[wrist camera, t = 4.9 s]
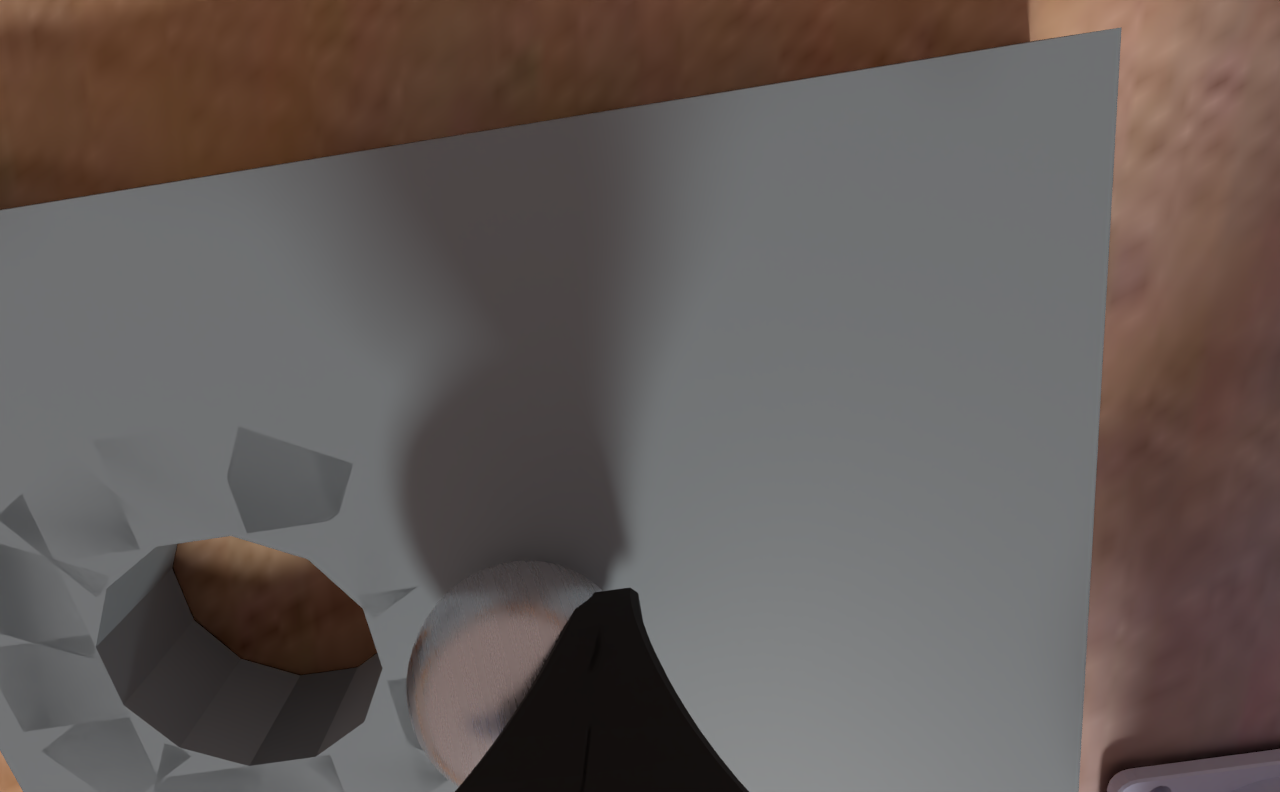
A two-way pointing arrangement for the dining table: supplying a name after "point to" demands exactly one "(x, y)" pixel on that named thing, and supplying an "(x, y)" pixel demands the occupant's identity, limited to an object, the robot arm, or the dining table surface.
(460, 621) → the ball
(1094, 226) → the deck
